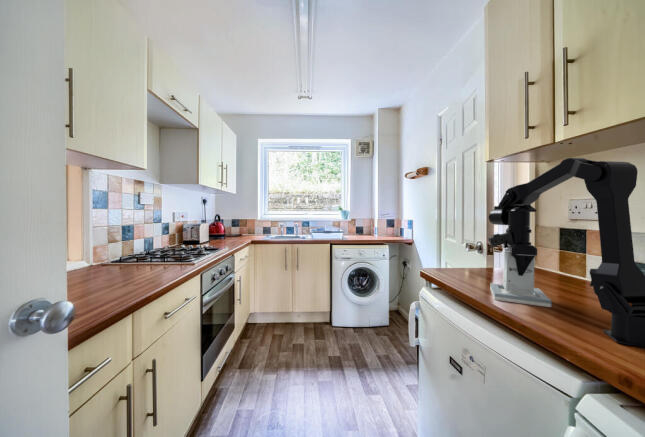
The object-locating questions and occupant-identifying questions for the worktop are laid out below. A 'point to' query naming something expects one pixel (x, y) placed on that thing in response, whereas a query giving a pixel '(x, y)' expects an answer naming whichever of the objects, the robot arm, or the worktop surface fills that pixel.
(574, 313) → the worktop surface
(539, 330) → the worktop surface
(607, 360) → the worktop surface
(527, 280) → the supplement box
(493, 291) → the tile coaster
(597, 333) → the worktop surface
